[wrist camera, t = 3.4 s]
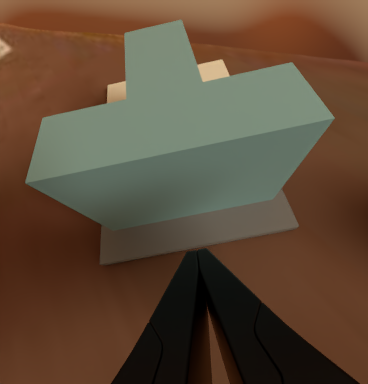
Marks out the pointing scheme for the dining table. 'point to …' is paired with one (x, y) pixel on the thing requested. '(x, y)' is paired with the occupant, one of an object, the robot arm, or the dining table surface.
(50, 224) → the dining table surface
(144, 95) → the t block
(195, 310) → the robot arm
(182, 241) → the mat
